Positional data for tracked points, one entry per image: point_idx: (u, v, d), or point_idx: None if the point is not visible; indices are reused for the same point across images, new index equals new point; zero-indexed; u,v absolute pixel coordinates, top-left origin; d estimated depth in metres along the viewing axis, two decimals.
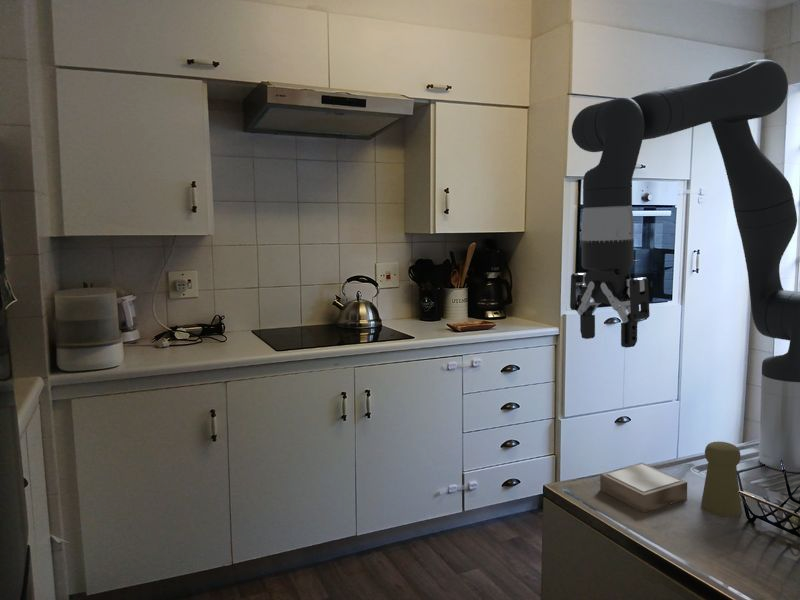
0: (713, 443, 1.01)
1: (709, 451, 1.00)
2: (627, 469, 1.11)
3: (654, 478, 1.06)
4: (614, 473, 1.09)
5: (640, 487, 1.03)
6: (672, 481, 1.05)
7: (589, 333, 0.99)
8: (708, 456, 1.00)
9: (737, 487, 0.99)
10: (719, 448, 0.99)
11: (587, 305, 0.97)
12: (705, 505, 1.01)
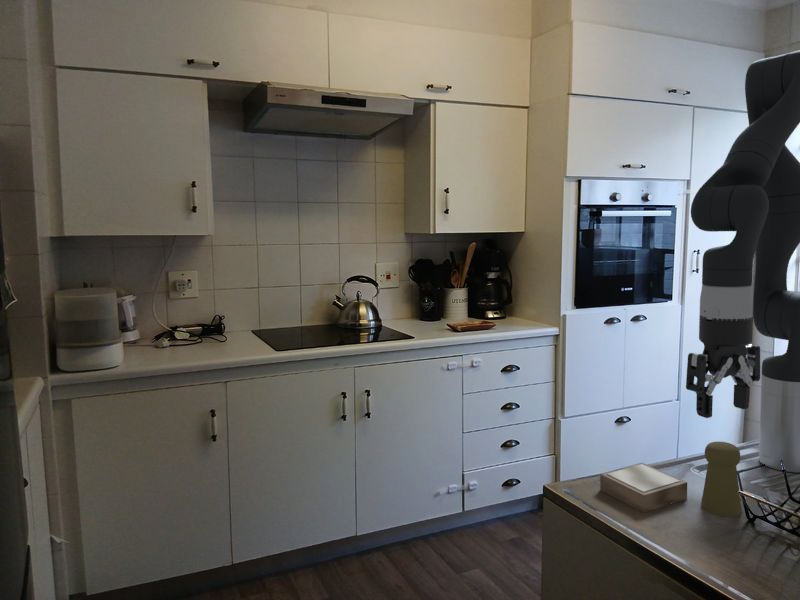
0: (713, 443, 1.01)
1: (709, 451, 1.00)
2: (627, 469, 1.11)
3: (654, 478, 1.06)
4: (614, 473, 1.09)
5: (640, 487, 1.03)
6: (672, 481, 1.05)
7: None
8: (708, 456, 1.00)
9: (737, 487, 0.99)
10: (719, 448, 0.99)
11: None
12: (705, 505, 1.01)
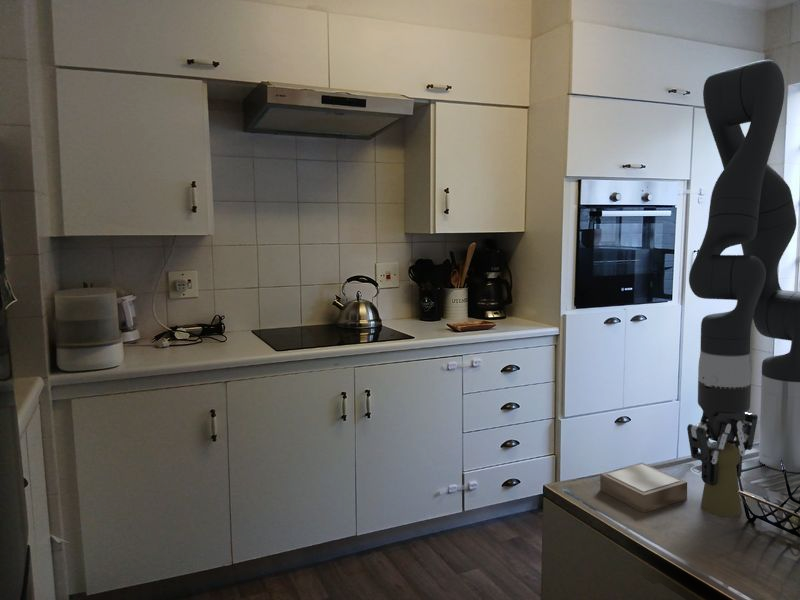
0: None
1: (709, 451, 1.00)
2: (627, 469, 1.11)
3: (654, 478, 1.06)
4: (614, 473, 1.09)
5: (640, 487, 1.03)
6: (672, 481, 1.05)
7: None
8: None
9: (737, 487, 0.99)
10: None
11: None
12: (705, 505, 1.01)
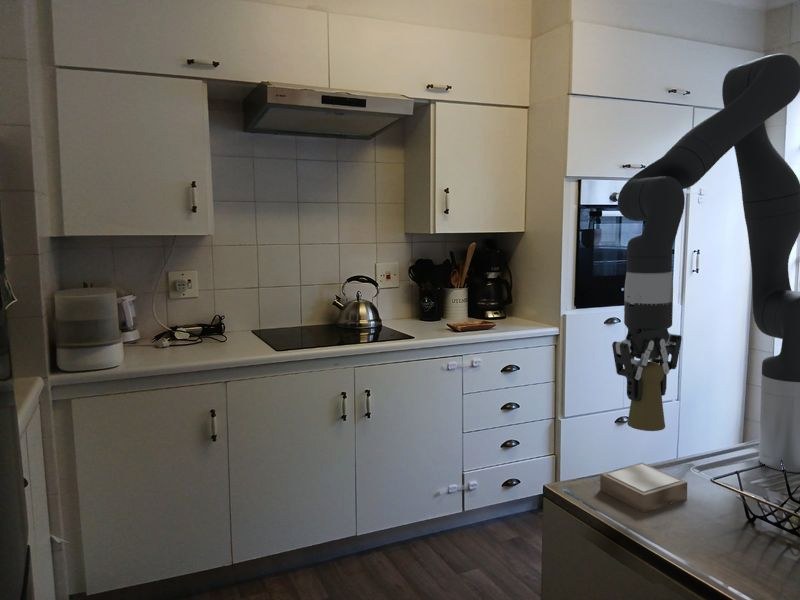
0: None
1: (634, 369, 1.03)
2: (627, 469, 1.11)
3: (654, 478, 1.06)
4: (614, 473, 1.09)
5: (640, 487, 1.03)
6: (672, 481, 1.05)
7: None
8: None
9: (660, 403, 1.03)
10: None
11: None
12: (630, 422, 1.05)
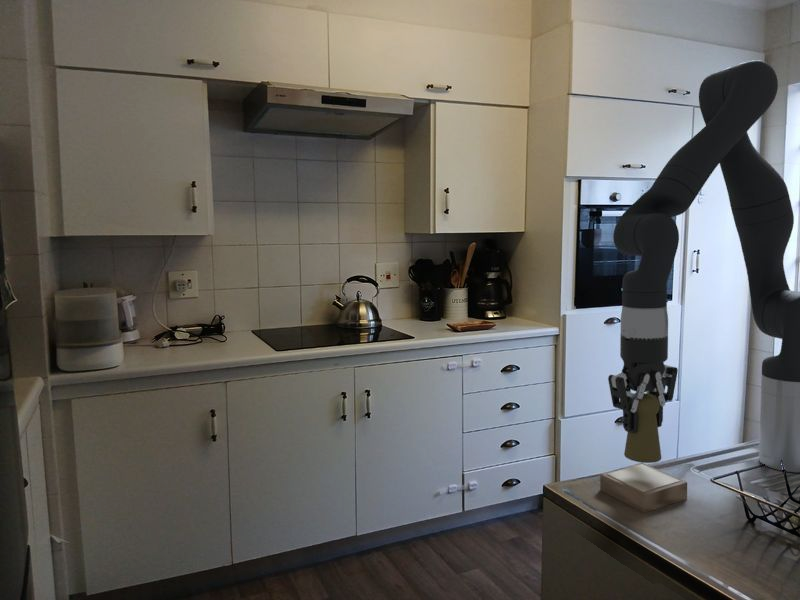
0: None
1: (630, 401, 1.05)
2: (627, 469, 1.11)
3: (654, 478, 1.06)
4: (614, 473, 1.09)
5: (640, 487, 1.03)
6: (672, 481, 1.05)
7: None
8: None
9: (656, 435, 1.04)
10: None
11: None
12: (627, 453, 1.06)
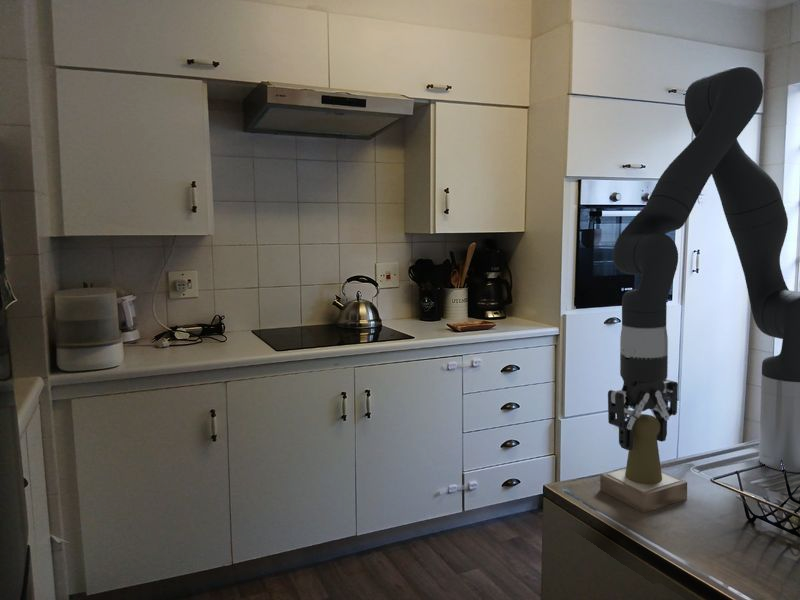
0: None
1: None
2: None
3: None
4: (614, 473, 1.09)
5: (640, 487, 1.03)
6: (672, 481, 1.05)
7: None
8: None
9: (656, 456, 1.05)
10: (639, 420, 1.05)
11: None
12: (628, 474, 1.07)
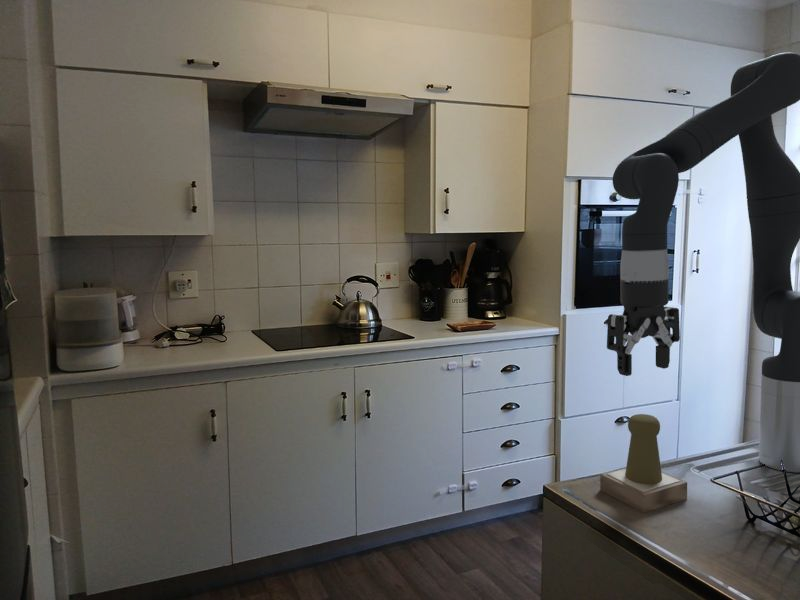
0: (635, 415, 1.07)
1: (631, 423, 1.05)
2: None
3: None
4: (614, 473, 1.09)
5: (640, 487, 1.03)
6: (672, 481, 1.05)
7: None
8: (630, 427, 1.06)
9: (656, 456, 1.05)
10: (640, 420, 1.05)
11: None
12: (628, 474, 1.07)
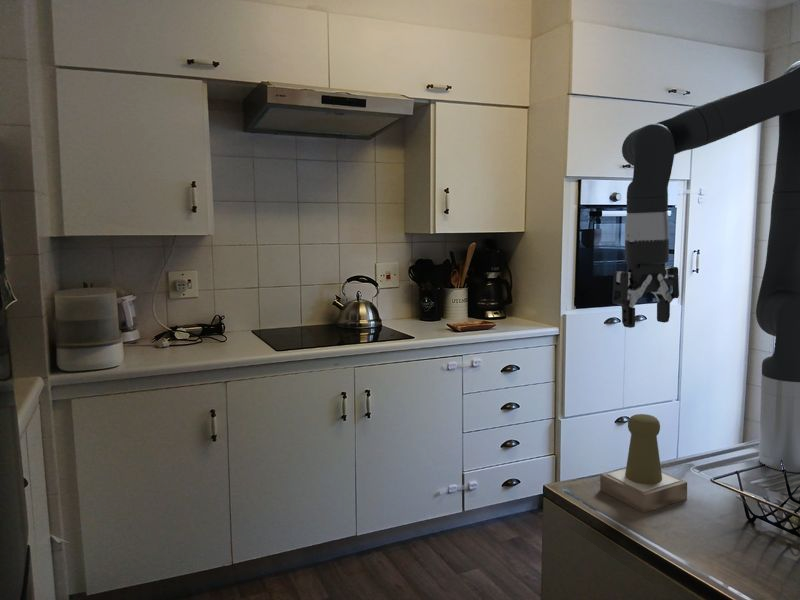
0: (635, 415, 1.07)
1: (631, 423, 1.05)
2: None
3: None
4: (614, 473, 1.09)
5: (640, 487, 1.03)
6: (672, 481, 1.05)
7: None
8: (630, 427, 1.06)
9: (656, 456, 1.05)
10: (639, 420, 1.05)
11: None
12: (628, 474, 1.07)
